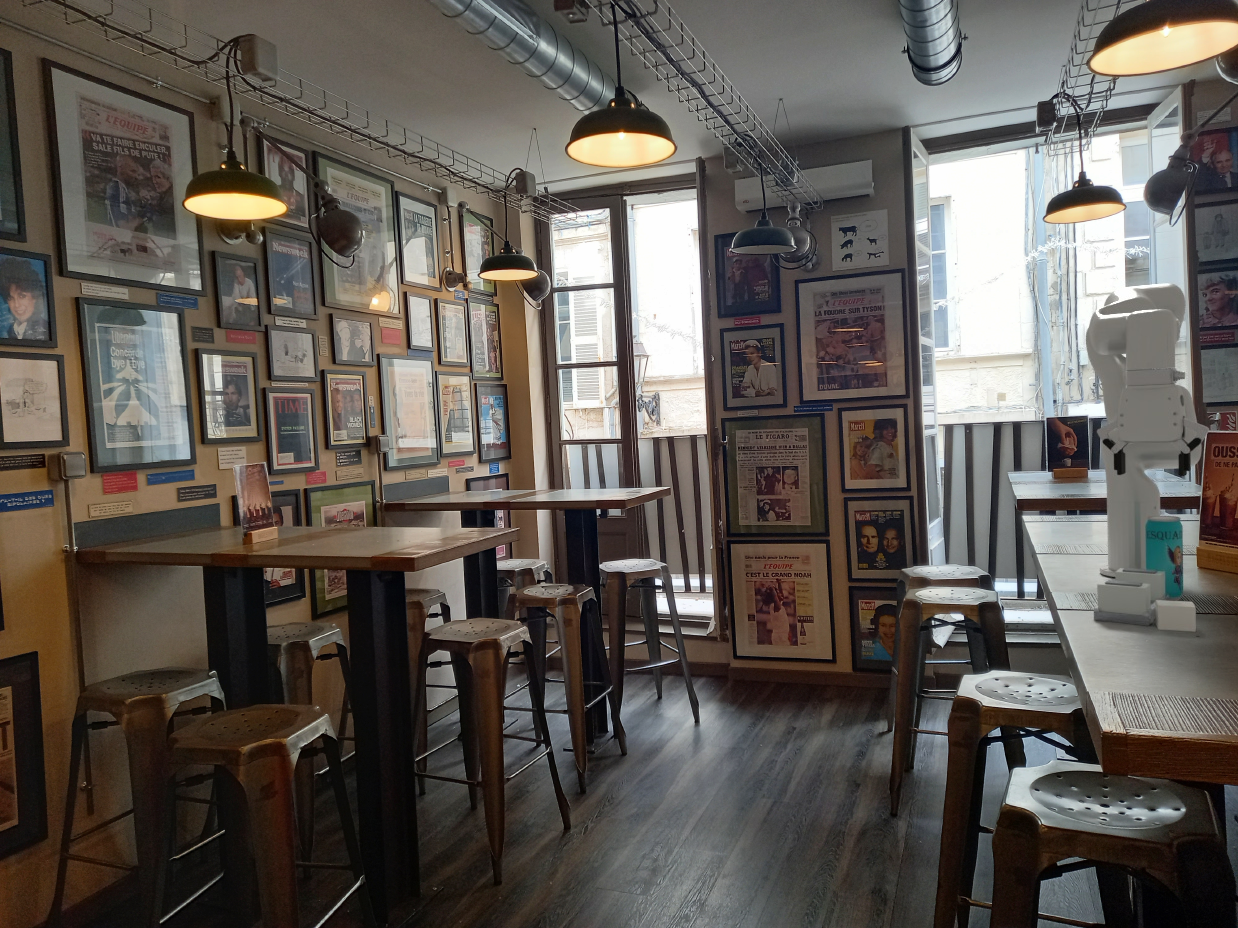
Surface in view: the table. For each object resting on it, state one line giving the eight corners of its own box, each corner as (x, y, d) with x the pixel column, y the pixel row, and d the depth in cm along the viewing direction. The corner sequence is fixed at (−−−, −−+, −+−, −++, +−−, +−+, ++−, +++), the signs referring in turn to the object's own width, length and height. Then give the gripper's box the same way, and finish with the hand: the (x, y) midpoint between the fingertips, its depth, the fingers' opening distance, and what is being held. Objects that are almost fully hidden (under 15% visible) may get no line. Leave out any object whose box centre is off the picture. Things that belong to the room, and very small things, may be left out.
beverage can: (1171, 603, 154) (1170, 520, 153) (1139, 598, 159) (1138, 517, 158) (1190, 598, 157) (1189, 517, 156) (1158, 593, 162) (1157, 514, 161)
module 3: (1155, 624, 141) (1155, 599, 141) (1192, 626, 139) (1191, 601, 139) (1158, 629, 138) (1158, 605, 137) (1195, 632, 135) (1195, 607, 135)
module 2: (1120, 592, 158) (1120, 566, 158) (1165, 596, 153) (1165, 569, 153) (1115, 596, 155) (1115, 570, 155) (1161, 600, 150) (1160, 573, 150)
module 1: (1103, 606, 148) (1103, 578, 148) (1150, 610, 143) (1150, 582, 143) (1097, 610, 145) (1097, 582, 145) (1145, 615, 140) (1145, 586, 140)
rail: (1118, 599, 159) (1118, 589, 158) (1169, 604, 153) (1169, 593, 153) (1093, 619, 145) (1093, 608, 145) (1148, 625, 140) (1148, 613, 140)
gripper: (1212, 376, 151) (1212, 473, 152) (1102, 382, 163) (1103, 472, 164) (1204, 377, 146) (1204, 478, 147) (1091, 383, 157) (1092, 476, 159)
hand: (1151, 474), depth 156 cm, fingers open, 9 cm apart
